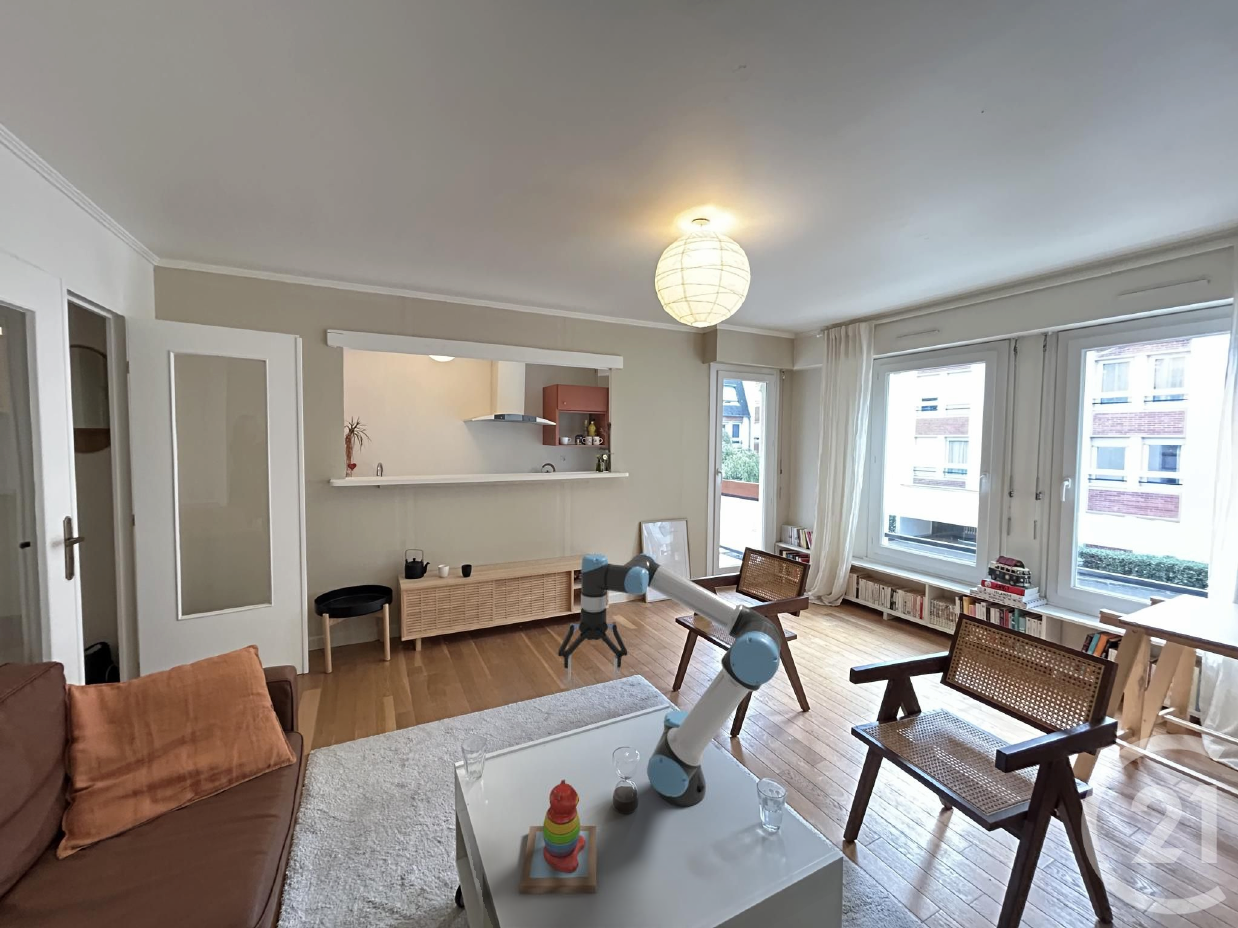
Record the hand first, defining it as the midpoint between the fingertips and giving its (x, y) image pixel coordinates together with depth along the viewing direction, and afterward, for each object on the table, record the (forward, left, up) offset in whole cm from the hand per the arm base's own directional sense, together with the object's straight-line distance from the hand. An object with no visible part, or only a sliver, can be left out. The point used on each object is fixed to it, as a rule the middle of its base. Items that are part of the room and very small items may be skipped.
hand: (592, 677), depth 150 cm
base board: (+7, +23, -37) cm, 44 cm away
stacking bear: (+7, +23, -35) cm, 42 cm away
